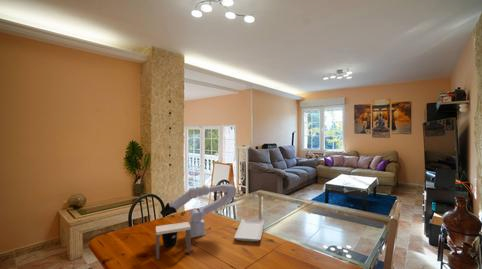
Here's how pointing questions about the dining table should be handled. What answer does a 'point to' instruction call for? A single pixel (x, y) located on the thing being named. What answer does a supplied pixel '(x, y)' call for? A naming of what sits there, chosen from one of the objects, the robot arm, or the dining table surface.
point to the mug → (169, 239)
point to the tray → (250, 230)
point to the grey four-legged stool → (174, 228)
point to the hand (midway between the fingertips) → (162, 214)
